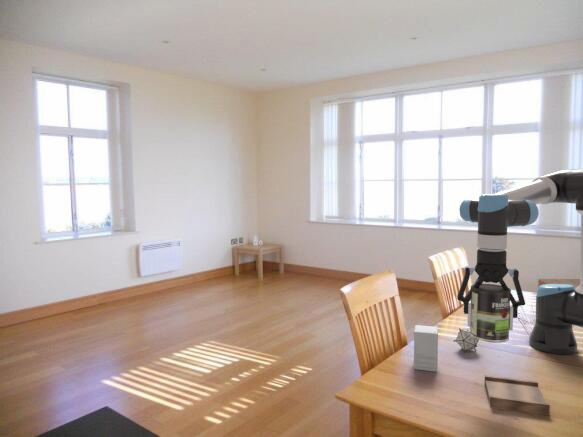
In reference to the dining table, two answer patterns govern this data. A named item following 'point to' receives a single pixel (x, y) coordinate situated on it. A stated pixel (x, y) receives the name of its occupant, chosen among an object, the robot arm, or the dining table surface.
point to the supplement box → (425, 348)
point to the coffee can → (490, 313)
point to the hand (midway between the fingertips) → (489, 326)
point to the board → (515, 395)
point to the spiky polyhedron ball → (466, 340)
